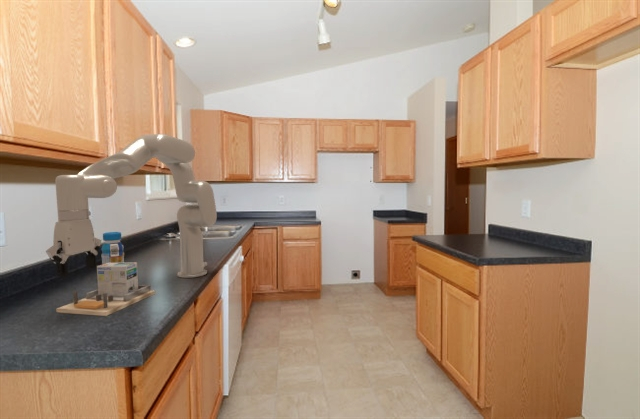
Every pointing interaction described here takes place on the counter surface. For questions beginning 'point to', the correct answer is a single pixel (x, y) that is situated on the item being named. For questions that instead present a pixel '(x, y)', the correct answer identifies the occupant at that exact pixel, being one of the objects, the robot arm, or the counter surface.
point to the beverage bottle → (112, 248)
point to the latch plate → (89, 304)
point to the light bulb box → (117, 279)
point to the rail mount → (107, 302)
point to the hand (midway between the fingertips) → (77, 271)
